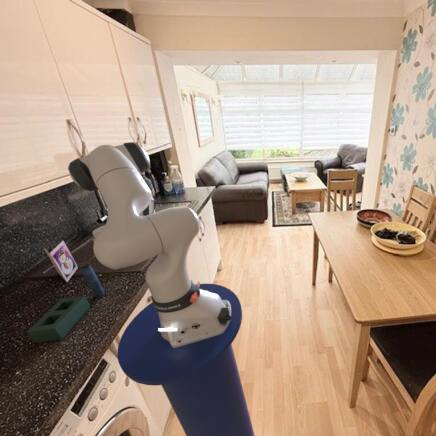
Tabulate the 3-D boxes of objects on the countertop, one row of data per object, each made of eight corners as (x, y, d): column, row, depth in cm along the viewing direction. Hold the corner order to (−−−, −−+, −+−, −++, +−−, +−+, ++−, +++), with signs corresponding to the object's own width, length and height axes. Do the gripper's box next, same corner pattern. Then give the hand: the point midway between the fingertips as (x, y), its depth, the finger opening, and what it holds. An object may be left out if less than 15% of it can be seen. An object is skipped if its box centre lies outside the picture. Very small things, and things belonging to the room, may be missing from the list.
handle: (108, 290, 96) (92, 260, 89) (102, 297, 92) (85, 266, 86) (98, 292, 96) (81, 261, 89) (92, 298, 92) (74, 267, 86)
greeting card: (69, 281, 103) (52, 252, 96) (48, 286, 100) (29, 257, 94) (80, 267, 112) (65, 239, 106) (61, 271, 110) (44, 243, 104)
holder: (90, 305, 89) (84, 295, 87) (62, 339, 76) (54, 328, 74) (67, 308, 88) (61, 298, 86) (35, 343, 75) (26, 332, 73)
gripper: (104, 219, 109) (78, 234, 97) (147, 218, 108) (126, 233, 95) (109, 231, 112) (85, 247, 100) (151, 230, 110) (131, 247, 98)
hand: (105, 240), depth 97 cm, fingers open, 8 cm apart
